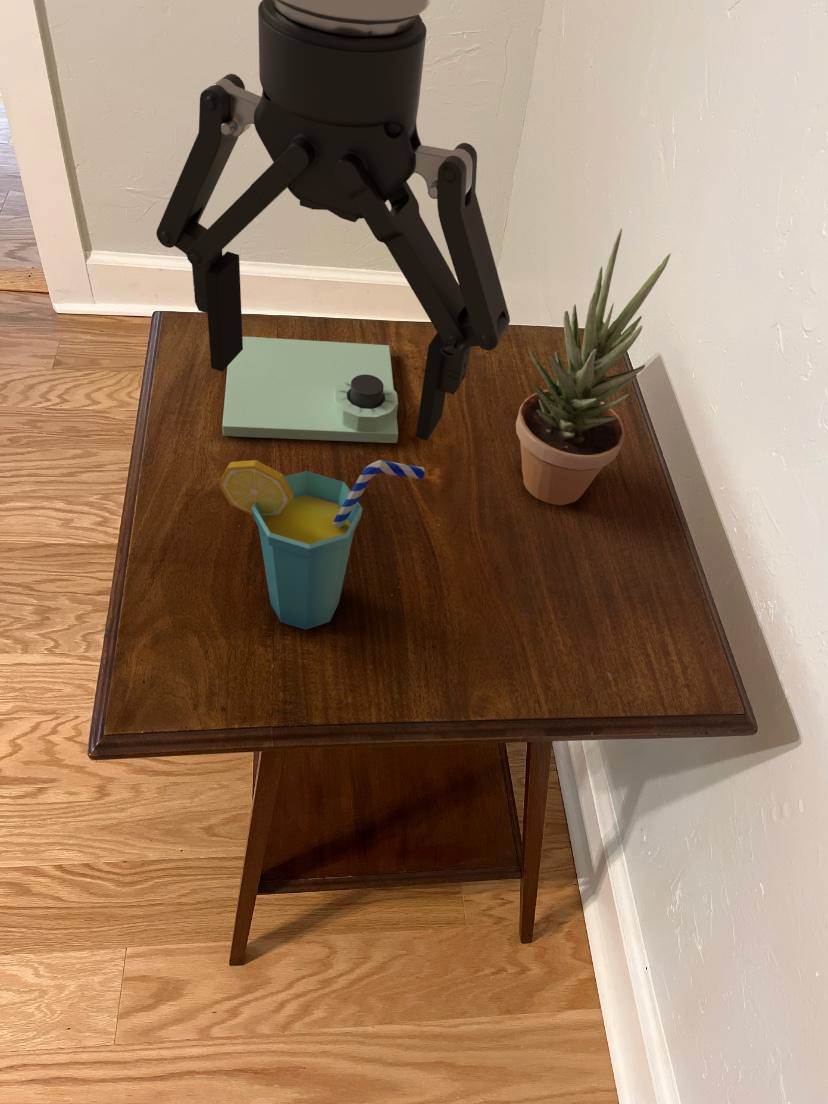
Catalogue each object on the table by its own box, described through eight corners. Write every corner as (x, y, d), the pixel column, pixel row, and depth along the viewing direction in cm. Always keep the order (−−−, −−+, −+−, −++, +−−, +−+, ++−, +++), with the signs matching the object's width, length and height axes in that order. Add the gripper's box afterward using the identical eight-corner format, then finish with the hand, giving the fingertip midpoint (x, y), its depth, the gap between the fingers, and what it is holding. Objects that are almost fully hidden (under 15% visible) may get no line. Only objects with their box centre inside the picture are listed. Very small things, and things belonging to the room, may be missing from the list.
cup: (399, 566, 76) (420, 425, 64) (408, 640, 71) (432, 502, 60) (227, 566, 73) (216, 419, 62) (224, 643, 68) (212, 499, 57)
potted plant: (606, 461, 88) (693, 219, 70) (599, 528, 82) (693, 282, 64) (506, 438, 88) (566, 190, 70) (491, 502, 82) (553, 250, 64)
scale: (222, 436, 83) (221, 410, 81) (230, 345, 92) (229, 319, 89) (397, 443, 86) (400, 418, 83) (388, 354, 95) (391, 329, 92)
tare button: (350, 408, 84) (351, 393, 83) (349, 388, 86) (350, 373, 84) (382, 410, 84) (384, 395, 83) (381, 390, 86) (382, 375, 85)
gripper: (43, -49, 39) (113, 362, 55) (593, 110, 37) (498, 494, 53) (138, -85, 44) (176, 302, 60) (629, 53, 41) (532, 420, 57)
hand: (326, 392), depth 56 cm, fingers open, 13 cm apart
